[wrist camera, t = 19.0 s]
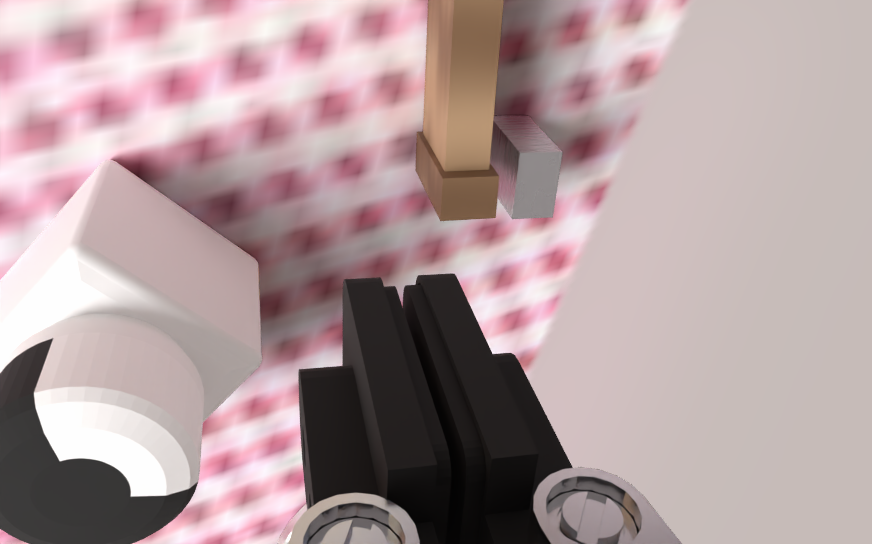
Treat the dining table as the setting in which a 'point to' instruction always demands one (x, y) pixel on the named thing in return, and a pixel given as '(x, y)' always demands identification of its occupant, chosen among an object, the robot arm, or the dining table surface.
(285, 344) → the dining table surface
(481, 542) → the robot arm
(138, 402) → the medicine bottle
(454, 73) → the tan wooden plank
